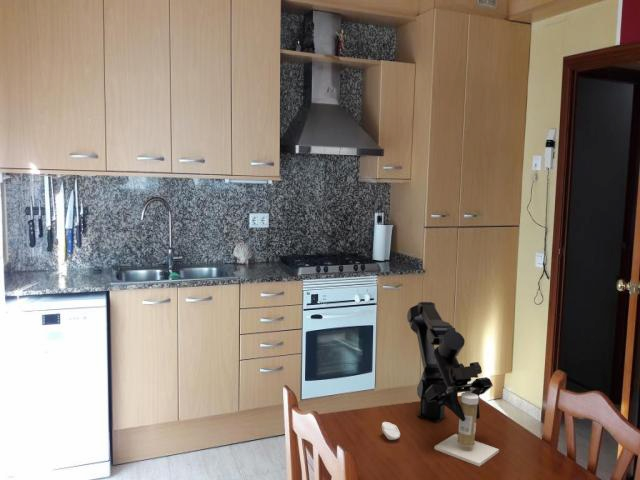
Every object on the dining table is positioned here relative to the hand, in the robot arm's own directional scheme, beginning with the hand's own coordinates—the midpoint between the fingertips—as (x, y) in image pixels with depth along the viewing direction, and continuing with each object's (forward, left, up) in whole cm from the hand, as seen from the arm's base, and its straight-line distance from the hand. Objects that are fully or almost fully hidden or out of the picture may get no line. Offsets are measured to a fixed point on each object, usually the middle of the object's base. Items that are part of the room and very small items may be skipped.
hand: (471, 419), depth 146 cm
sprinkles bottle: (-1, 0, -7) cm, 8 cm away
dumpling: (-20, -8, -9) cm, 23 cm away
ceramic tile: (-1, 0, -9) cm, 9 cm away
